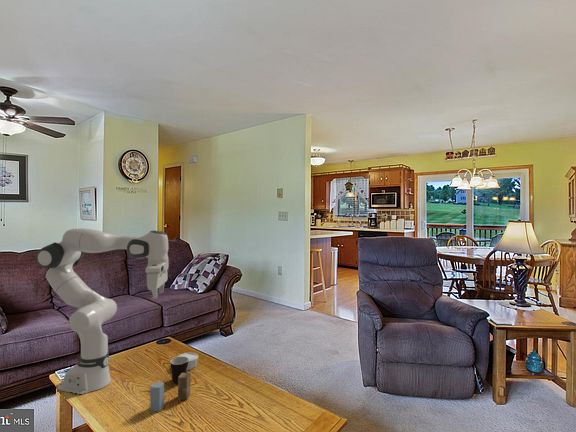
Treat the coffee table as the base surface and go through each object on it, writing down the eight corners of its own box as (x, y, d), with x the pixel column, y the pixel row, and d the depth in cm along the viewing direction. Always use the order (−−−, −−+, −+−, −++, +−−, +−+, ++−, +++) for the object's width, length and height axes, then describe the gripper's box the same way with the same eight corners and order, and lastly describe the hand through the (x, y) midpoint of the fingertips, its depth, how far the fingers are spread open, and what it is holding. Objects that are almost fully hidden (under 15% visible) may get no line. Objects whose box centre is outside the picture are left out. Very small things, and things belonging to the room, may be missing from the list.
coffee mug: (182, 386, 154) (182, 365, 154) (166, 384, 156) (166, 363, 156) (194, 374, 165) (194, 354, 165) (179, 372, 167) (179, 353, 167)
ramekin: (201, 362, 178) (201, 353, 178) (192, 372, 167) (192, 362, 167) (182, 360, 180) (182, 351, 180) (172, 370, 169) (172, 360, 169)
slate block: (150, 410, 135) (150, 387, 135) (155, 405, 139) (155, 382, 139) (159, 411, 134) (159, 387, 134) (164, 405, 138) (164, 382, 138)
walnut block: (177, 399, 143) (178, 377, 143) (181, 394, 147) (181, 372, 147) (186, 400, 143) (186, 377, 143) (190, 395, 147) (190, 373, 147)
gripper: (157, 262, 160) (157, 290, 160) (144, 269, 140) (144, 301, 140) (170, 262, 161) (170, 289, 161) (159, 269, 140) (159, 301, 141)
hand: (158, 295), depth 150 cm, fingers open, 8 cm apart
